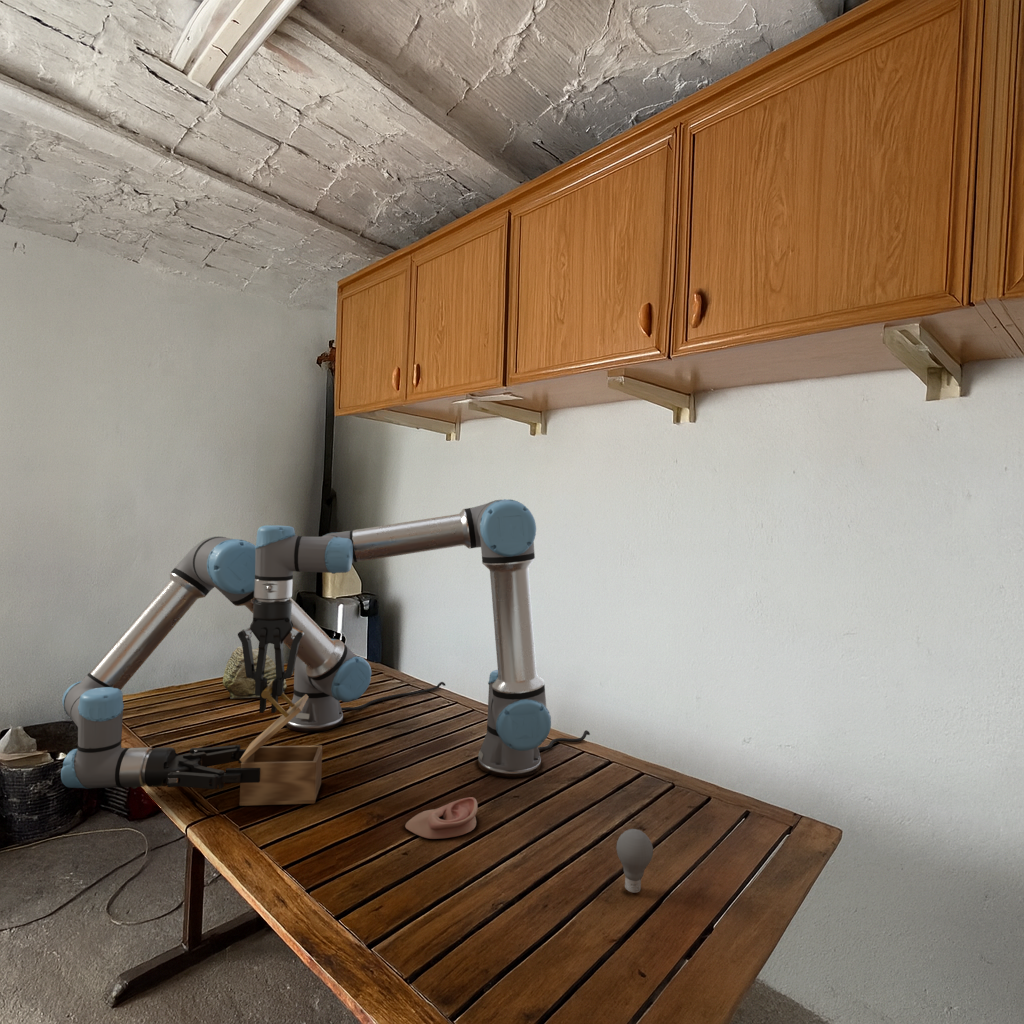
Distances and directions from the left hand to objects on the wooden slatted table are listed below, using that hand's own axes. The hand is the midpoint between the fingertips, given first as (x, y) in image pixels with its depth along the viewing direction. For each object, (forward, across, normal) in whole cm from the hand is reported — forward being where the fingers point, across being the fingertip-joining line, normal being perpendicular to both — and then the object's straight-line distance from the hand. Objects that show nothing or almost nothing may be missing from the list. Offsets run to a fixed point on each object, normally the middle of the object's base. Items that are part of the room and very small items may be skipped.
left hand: (265, 765), depth 133 cm
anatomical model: (+37, +15, -6) cm, 40 cm away
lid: (+2, 0, +8) cm, 8 cm away
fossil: (-18, -68, -6) cm, 71 cm away
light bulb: (+67, +38, -6) cm, 78 cm away
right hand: (0, 0, +12) cm, 12 cm away
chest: (+4, 0, -6) cm, 7 cm away
